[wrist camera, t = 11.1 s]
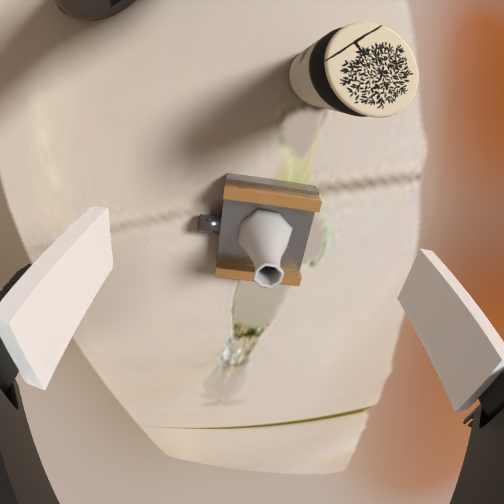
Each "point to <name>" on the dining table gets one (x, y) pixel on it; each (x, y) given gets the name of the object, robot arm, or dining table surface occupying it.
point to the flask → (265, 245)
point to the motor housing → (269, 199)
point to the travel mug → (357, 71)
